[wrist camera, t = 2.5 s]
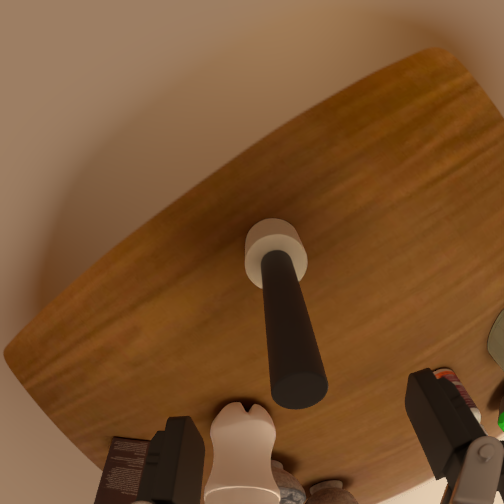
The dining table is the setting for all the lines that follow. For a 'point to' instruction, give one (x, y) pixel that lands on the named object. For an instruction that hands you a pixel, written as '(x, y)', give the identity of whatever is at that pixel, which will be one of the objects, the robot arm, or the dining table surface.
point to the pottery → (322, 494)
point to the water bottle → (242, 457)
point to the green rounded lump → (501, 414)
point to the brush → (285, 313)
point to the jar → (497, 341)
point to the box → (122, 472)
